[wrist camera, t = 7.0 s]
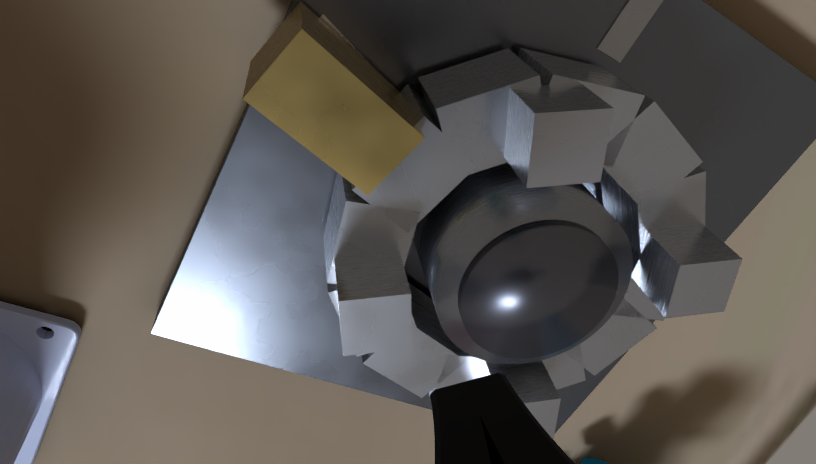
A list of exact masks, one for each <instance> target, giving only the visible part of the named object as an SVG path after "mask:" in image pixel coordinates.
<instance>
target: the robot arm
mask: <svg viewBox="0 0 816 464" xmlns="http://www.w3.org/2000/svg"><path fill="white" fill-rule="evenodd" d="M42 327H48V328H50V329H52V330H53V331H47V330H44V329H43V328H42ZM80 335H81V329H80V326H79V325H78V324H77V323H75V322H74V321H72V320H69V319H66V318H62V317H58V316H54V315H51V314H47V313H43V312H39V311H36V310H32V309H28V308H24V307H20V306H17V305H13V304H9V303H5V302H2V301H0V464H33V462H34V459H35V457H36V454H37V451H38V449H39V446H40V443H41V440H42V438H43V435H44V432H45V430H46V427H47V424H48V422H49V419H50V416H51V414H52V411H53V408H54V405H55V403H56V400H57V397H58V395H59V392H60V389H61V387H62V384H63V381H64V379H65V376H66V373H67V370H68V368H69V365H70V362H71V360H72V357H73V354H74V352H75V349H76V346H77V343H78V341H79V338H80ZM430 400H431V404H432V410H433V419H434V432H435V464H574V463H573V461H572V460H571V459H570V458H569V457H568V456H567V455H566V454H565V453H564V451H563V450H562V449H561V448H560V447H559V446H558V445H557V444H556V442H555V441H554V440H553V439H552V438H551V437H550V435H549V434H548V433H547V432H546V431H545V429H544V428H543V427H542V426H541V424H540V423H539V422H538V421H537V420H536V418H535V417H534V416H533V415H532V413H531V412H530V411H529V409H528V408H527V407H526V405H525V404H524V403H523V401H522V400H521V399H520V397H519V396H518V394H517V393H516V392H515V390H514V389H513V387H512V386H511V384H510V383H509V381H508V379H507V378H506V376H505V375H503V374H501V373H495V374H491V375H487V376H484V377H480V378H476V379H472V380H469V381H465V382H461V383H457V384H454V385H450V386H446V387H443V388H439V389H435V390H434V391H433V392H432V393H431V394H430Z"/></svg>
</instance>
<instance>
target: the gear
mask: <svg viewBox="0 0 816 464" xmlns="http://www.w3.org/2000/svg"><path fill="white" fill-rule="evenodd" d="M581 464H608V463H607V462H605V461H602V460H599V459H595V458H588V457H584V459H583V460H582V462H581Z"/></svg>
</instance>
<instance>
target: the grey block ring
mask: <svg viewBox="0 0 816 464" xmlns="http://www.w3.org/2000/svg"><path fill="white" fill-rule="evenodd" d="M418 80H419V83H420V87H421V91H422V94H423V98H424V99H423V98H422V97H421V96H420V95H419V94H418V93H417V92H416V91H415V90H413V89H412V88H411V87H410V86H409V85H408V84H407V85H406V86H405V87H404V88H403V89H402V90H401V91H398V90H397V89H396V88H395V87H394V86H393V85H392V84H391V83H390V82H389V81H387V80H386V79H385V78H384V77H383V76H382V75H381V74H380V73H379V72H378V71H377V70H375V69H374V68H373V67H372V66H371V65H370V64H369V63H368V62H367V61H366V60H365V59H363V58H362V57H361V56H360V55H359V54H358V53H357V52H356V51H355V50H354V49H352V48H351V47H350V46H349V45H348V44H347V43H346V42H345V41H344V40H343V39H342V38H340V37H339V36H338V35H337V34H336V33H335V32H334V31H333V30H332V29H331V28H329V27H328V26H327V25H326V24H325V23H324V22H323V21H322V20H321V19H320V18H319V17H317V16H316V15H315V14H314V13H313V12H312V11H311V10H310V9H309V8H308V7H307V6H305V5H304V4H303V3H302V2H301V1H300V2H299V4H298V5H297V6H296V7H295V8H294V10H293V11H292V12H291V13H290V14H289V16H288V17H287V18H286V19H285V20H284V22H283V23H282V24H281V25H280V26H279V28H278V29H277V30H276V31H275V32H274V34H273V35H272V36H271V37H270V38H269V40H268V41H267V42H266V43H265V44H264V46H263V47H262V48H261V49H260V50H259V52H258V53H257V54H256V55H255V56H254V58H253V59H252V60H251V62H250V67H249V71H248V76H247V80H246V85H245V89H244V94H243V100H244V101H246V102H247V103H248V104H249V105H251V106H252V107H253V108H255V109H256V110H257V111H259V112H260V113H261V114H262V115H264V116H265V117H266V118H268V119H269V120H270V121H272V122H273V123H274V124H275V125H277V126H278V127H279V128H281V129H282V130H283V131H284V132H286V133H287V134H288V135H290V136H291V137H292V138H294V139H295V140H296V141H297V142H299V143H300V144H301V145H303V146H304V147H305V148H306V149H308V150H309V151H310V152H312V153H313V154H314V155H316V156H317V157H318V158H319V159H321V160H322V161H323V162H325V163H326V164H327V165H329V166H330V167H331V168H332V169H334V170H335V171H336V172H337V174H336V179H335V184H334V188H333V193H332V198H331V202H330V207H329V211H328V216H327V221H326V225H325V230H324V235H323V238H324V251H325V264H326V276H327V287H328V294H329V296H330V298H331V301H332V303H333V305H334V307H335V310H336V312H337V314H338V316H339V320H340V330H341V340H342V350H343V356H349V355H356V356H357V357H358V356H361V355H362V361H363V364H365V365H366V366H368V367H370V368H372V369H373V370H375V371H377V372H378V373H380V374H382V375H383V376H385V377H387V378H389V379H390V380H392V381H394V382H395V383H397V384H399V385H400V386H402V387H404V388H405V389H407V390H409V391H411V392H412V393H414V394H416V395H417V396H419V397H421V398H423V397H424V396H425V395H426V394H427V393H429V397H430V394H431V393H432V392H433V391H434V390H435V389H439V388H443V387H446V386H450V385H454V384H457V383H461V382H465V381H469V380H472V379H476V378H480V377H484V376H487V375H491V374H495V373H501V374H503V375H505V376H506V378H507V379H508V381H509V383H510V384H511V386H512V387H513V389H514V390H515V392H516V393H517V394H518V396H519V397H520V399H521V400H522V401H523V403H524V404H525V405H526V407H527V408H528V409H529V411H530V412H531V413H532V415H533V416H534V417H535V418H536V420H537V421H538V422H539V423H540V424H541V426H542V427H543V428H544V429H545V431H546V432H547V433H548V434H549V435H550V437H551V438H552V439H554V433H555V428H556V423H557V417H558V412H559V406H560V401H561V398H560V396H559V394H558V392H557V389H560V388H564V387H567V386H570V385H573V384H576V383H579V382H582V381H585V380H586V379H585V373H584V368H585V369H586V370H588V371H589V372H590V373H592V374H593V375H594V376H595V375H596V374H598V373H599V372H600V371H601V370H603V369H604V368H605V367H607V366H608V365H609V364H611V363H612V362H613V361H614V360H616V359H617V358H618V357H620V356H621V355H622V354H624V353H625V352H626V351H628V350H629V349H630V348H631V347H633V346H634V345H635V344H637V343H638V342H639V341H641V340H642V339H643V338H644V337H646V336H647V335H648V334H650V333H651V332H652V331H654V330H655V329H656V327H655V325H654V324H653V323H652V321H651V320H650V319H653V320H662V321H664V319H665V318H672V317H681V316H689V315H698V314H706V313H715V312H723V311H724V310H725V307H726V304H727V302H728V299H729V296H730V293H731V290H732V287H733V284H734V282H735V279H736V276H737V273H738V270H739V267H740V264H741V262H742V258H741V257H740V256H738V255H737V254H736V253H735V252H734V251H733V250H732V249H731V248H729V247H728V246H727V245H726V244H725V243H724V242H723V241H721V240H720V239H719V238H718V237H717V236H716V235H715V234H713V233H712V232H711V231H710V230H709V229H708V228H707V227H705V201H706V171H705V170H704V169H702V168H701V167H700V166H699V165H700V164H701V163H702V162H703V161H702V160H701V159H700V158H699V156H698V155H697V154H696V153H695V151H694V150H693V149H692V148H691V146H690V145H689V144H688V143H687V141H686V140H685V139H684V138H683V136H682V135H681V134H680V133H679V131H678V130H677V129H676V127H675V126H674V125H673V124H672V122H671V121H670V120H669V119H668V117H667V116H666V115H665V114H664V112H663V111H662V110H661V109H660V107H659V106H658V105H657V104H656V102H655V101H654V100H652V99H651V98H649V97H647V96H646V95H644V94H643V93H641V92H640V91H638V90H637V89H635V88H634V87H632V86H631V85H629V84H628V83H626V82H625V81H623V80H621V79H620V78H618V77H617V76H615V75H614V74H612V73H611V72H609V71H607V70H606V69H604V68H603V67H600V66H595V65H591V64H587V63H583V62H579V61H574V60H570V59H566V58H562V57H558V56H553V55H549V54H545V53H541V52H537V51H532V50H528V49H524V48H520V49H519V52H518V54H517V55H516V54H514V53H513V52H512V51H511V50H510V49H509V48H507V49H504V50H501V51H498V52H495V53H492V54H488V55H485V56H482V57H479V58H476V59H473V60H470V61H467V62H464V63H461V64H458V65H455V66H451V67H448V68H445V69H442V70H439V71H436V72H433V73H430V74H427V75H424V76H421V77H418ZM507 162H508V163H509V164H510V166H511V167H512V169H513V170H514V171H515V173H516V174H517V175H518V177H519V178H520V180H521V181H522V182H523V184H524V185H525V187H526V188H534V187H546V186H558V185H570V184H582V183H594V182H601V189H602V199H603V207H604V208H605V209H606V210H607V211H608V212H609V213H610V214H611V215H612V217H613V218H614V219H615V220H616V221H617V222H618V223H619V225H620V226H621V227H622V228H623V230H624V232H625V233H626V235H627V237H628V240H629V243H630V245H631V250H632V256H633V269H632V275H631V280H630V283H629V286H628V289H627V292H626V294H625V296H624V298H623V300H622V302H621V303H620V305H619V307H618V308H617V310H616V311H615V312H614V314H613V315H612V316H611V318H610V319H609V320H608V321H607V322H606V323H605V324H604V325H603V326H602V327H601V328H600V329H599V330H598V331H597V332H596V333H594V334H593V335H592V336H591V337H589V338H588V339H586V340H585V341H584V342H582V343H580V344H579V345H577V346H575V347H574V348H572V349H570V350H568V351H566V352H564V353H562V354H559V355H557V356H554V357H551V358H548V359H545V360H541V361H537V362H531V363H525V364H499V363H492V362H488V361H484V360H481V359H478V358H475V357H473V356H471V355H469V354H467V353H465V352H464V351H462V350H461V349H460V348H458V347H457V346H456V345H455V344H454V343H453V342H452V341H451V340H450V339H449V338H448V336H447V335H446V333H445V332H444V330H443V329H442V326H441V324H440V322H439V319H438V316H437V313H436V310H435V307H434V303H433V300H432V299H431V298H430V297H428V296H427V295H425V294H424V293H423V292H421V291H420V290H418V289H417V288H416V287H414V286H413V285H411V284H410V283H409V282H408V280H407V276H406V273H405V269H404V266H405V262H406V259H407V256H408V252H409V249H410V246H411V242H412V239H413V236H414V232H415V229H416V226H417V223H418V222H419V221H421V220H422V219H423V218H424V217H425V216H426V215H427V214H428V213H429V212H430V211H431V210H432V209H433V208H434V207H435V206H436V205H437V204H438V203H439V202H440V201H441V200H442V199H443V198H445V197H446V196H447V195H448V194H449V193H450V192H451V191H452V190H453V189H454V188H455V187H456V186H457V185H458V184H459V183H460V182H461V181H462V180H463V179H464V178H465V177H466V176H467V175H470V174H473V173H476V172H479V171H482V170H485V169H488V168H491V167H494V166H498V165H501V164H504V163H507ZM430 401H431V400H430Z"/></svg>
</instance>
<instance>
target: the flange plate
mask: <svg viewBox="0 0 816 464" xmlns="http://www.w3.org/2000/svg"><path fill="white" fill-rule="evenodd" d="M300 1H301V2H302V3H303V4H304V5H305V6H307V7H308V8H309V9H310V10H311V11H312V12H313V13H314V14H315V15H316V16H317V17H319V18H320V19H321V20H322V21H323V22H324V23H325V24H326V25H327V26H328V27H329V28H331V29H332V30H333V31H334V32H335V33H336V34H337V35H338V36H339V37H340V38H342V39H343V40H344V41H345V42H346V43H347V44H348V45H349V46H350V47H351V48H352V49H354V50H355V51H356V52H357V53H358V54H359V55H360V56H361V57H362V58H363V59H365V60H366V61H367V62H368V63H369V64H370V65H371V66H372V67H373V68H374V69H375V70H377V71H378V72H379V73H380V74H381V75H382V76H383V77H384V78H385V79H386V80H387V81H389V82H390V83H391V84H392V85H393V86H394V87H395V88H396V89H397V90H398V91H401V90H402V89H403V88H404V87H405V86H406V85H407V84H408V85H409V86H410V87H411V88H412V89H413V90H415V91H416V92H417V93H418V94H419V95H420V96H421V97H422V98H423V94H422V91H421V87H420V83H419V80H418V77H421V76H424V75H427V74H430V73H433V72H436V71H439V70H442V69H445V68H448V67H451V66H455V65H458V64H461V63H464V62H467V61H470V60H473V59H476V58H479V57H482V56H485V55H488V54H492V53H495V52H498V51H501V50H504V49H507V48H509V49H510V50H511V51H512V52H513V53H514V54H516V55H517V54H518V52H519V49H520V48H524V49H528V50H532V51H537V52H541V53H545V54H549V55H553V56H558V57H562V58H566V59H570V60H574V61H579V62H583V63H587V64H591V65H595V66H600V67H603V68H604V69H606V70H607V71H609V72H611V73H612V74H614V75H615V76H617V77H618V78H620V79H621V80H623V81H625V82H626V83H628V84H629V85H631V86H632V87H634V88H635V89H637V90H638V91H640V92H641V93H643V94H644V95H646V96H647V97H649V98H651V99H652V100H654V101H655V102H656V104H657V105H658V106H659V107H660V109H661V110H662V111H663V112H664V114H665V115H666V116H667V117H668V119H669V120H670V121H671V122H672V124H673V125H674V126H675V127H676V129H677V130H678V131H679V133H680V134H681V135H682V136H683V138H684V139H685V140H686V141H687V143H688V144H689V145H690V146H691V148H692V149H693V150H694V151H695V153H696V154H697V155H698V156H699V158H700V159H701V160H702V161H703V162H702V163H701V164H700V165H699V166H700V167H701V168H702V169H704V170H705V171H706V201H705V227H707V228H708V229H709V230H710V231H711V232H712V233H713V234H715V235H716V236H717V237H718V238H719V239H720V240H721V241H723V242H725V241H726V239H727V238H728V237H729V236H730V235H731V234H732V233H733V232H734V230H735V229H736V228H737V227H738V226H739V225H740V224H741V223H742V221H743V220H744V219H745V218H746V217H747V216H748V215H749V213H750V212H751V211H752V210H753V209H754V208H755V207H756V206H757V204H758V203H759V202H760V201H761V200H762V199H763V198H764V197H765V195H766V194H767V193H768V192H769V191H770V190H771V189H772V188H773V186H774V185H775V184H776V183H777V182H778V181H779V180H780V178H781V177H782V176H783V175H784V174H785V173H786V172H787V171H788V169H789V168H790V167H791V166H792V165H793V164H794V163H795V162H796V160H797V159H798V158H799V157H800V156H801V155H802V154H803V152H804V151H805V150H806V149H807V148H808V147H809V146H810V145H811V143H812V142H813V141H814V140H815V139H816V82H815V81H814V80H812V79H811V78H809V77H808V76H807V75H805V74H804V73H803V72H801V71H800V70H798V69H797V68H796V67H794V66H793V65H791V64H790V63H789V62H787V61H786V60H784V59H783V58H782V57H780V56H779V55H778V54H776V53H775V52H773V51H772V50H771V49H769V48H768V47H766V46H765V45H764V44H762V43H761V42H760V41H758V40H757V39H755V38H754V37H753V36H751V35H750V34H748V33H747V32H746V31H744V30H743V29H741V28H740V27H739V26H737V25H736V24H735V23H733V22H732V21H730V20H729V19H728V18H726V17H725V16H723V15H722V14H721V13H719V12H718V11H716V10H715V9H714V8H712V7H711V6H710V5H708V4H707V3H705V2H704V1H703V0H292V2H291V5H290V7H289V9H288V12H287V14H286V16H285V19H286V18H287V17H288V16H289V14H290V13H291V12H292V11H293V10H294V8H295V7H296V6H297V5H298V4H299V2H300ZM285 19H284V20H285ZM283 22H284V21H283ZM423 99H424V98H423ZM336 174H337V172H336V171H335V170H334V169H332V168H331V167H330V166H329V165H327V164H326V163H325V162H323V161H322V160H321V159H319V158H318V157H317V156H316V155H314V154H313V153H312V152H310V151H309V150H308V149H306V148H305V147H304V146H303V145H301V144H300V143H299V142H297V141H296V140H295V139H294V138H292V137H291V136H290V135H288V134H287V133H286V132H284V131H283V130H282V129H281V128H279V127H278V126H277V125H275V124H274V123H273V122H272V121H270V120H269V119H268V118H266V117H265V116H264V115H262V114H261V113H260V112H259V111H257V110H256V109H255V108H253V107H252V106H251V105H249V104H247V106H246V109H245V111H244V113H243V116H242V118H241V120H240V123H239V125H238V127H237V130H236V132H235V134H234V137H233V139H232V141H231V143H230V146H229V148H228V150H227V153H226V155H225V157H224V160H223V162H222V164H221V167H220V169H219V171H218V173H217V176H216V178H215V180H214V183H213V185H212V187H211V190H210V192H209V194H208V197H207V199H206V201H205V204H204V206H203V208H202V210H201V213H200V215H199V217H198V220H197V222H196V224H195V227H194V229H193V231H192V234H191V236H190V238H189V241H188V243H187V245H186V247H185V250H184V252H183V254H182V257H181V259H180V261H179V264H178V266H177V268H176V271H175V273H174V275H173V278H172V280H171V282H170V284H169V287H168V289H167V291H166V294H165V296H164V298H163V301H162V303H161V305H160V308H159V310H158V312H157V315H156V318H155V321H154V324H153V328H152V331H151V334H154V335H158V336H162V337H165V338H169V339H173V340H176V341H180V342H184V343H187V344H191V345H195V346H199V347H202V348H206V349H210V350H213V351H217V352H221V353H224V354H228V355H232V356H236V357H239V358H243V359H247V360H250V361H254V362H258V363H261V364H265V365H269V366H272V367H276V368H280V369H284V370H287V371H291V372H295V373H298V374H302V375H306V376H309V377H313V378H317V379H320V380H324V381H328V382H332V383H335V384H339V385H343V386H346V387H350V388H354V389H357V390H361V391H365V392H368V393H372V394H376V395H380V396H383V397H387V398H391V399H394V400H398V401H402V402H405V403H409V404H413V405H416V406H420V407H424V408H428V409H431V410H432V404H431V401H430V397H429V393H427V394H426V395H425V396H424V397H423V398H421V397H419V396H417V395H416V394H414V393H412V392H411V391H409V390H407V389H405V388H404V387H402V386H400V385H399V384H397V383H395V382H394V381H392V380H390V379H389V378H387V377H385V376H383V375H382V374H380V373H378V372H377V371H375V370H373V369H372V368H370V367H368V366H366V365H365V364H363V361H362V355H361V356H358V357H357V356H356V355H349V356H343V350H342V340H341V330H340V320H339V316H338V314H337V312H336V310H335V307H334V305H333V303H332V301H331V298H330V296H329V294H328V287H327V276H326V264H325V251H324V238H323V235H324V230H325V225H326V221H327V216H328V211H329V207H330V202H331V198H332V193H333V188H334V184H335V179H336ZM583 185H584V186H585V187H586V188H587V189H588V190H589V191H590V192H591V193H592V195H593V196H594V197H595V198H596V199H597V200H598V201H599V202H600V203H601V204H602V206H603V199H602V189H601V182H594V183H583ZM404 269H405V273H406V276H407V280H408V282H409V283H410V284H411V285H413V286H414V287H416V288H417V289H418V290H420V291H421V292H423V293H424V294H425V295H427V296H428V297H430V298H431V299H432V297H431V294H430V291H429V288H428V285H427V281H426V278H425V275H424V272H423V269H422V266H421V263H420V259H419V256H418V253H417V250H416V247H415V243H414V239H412V242H411V246H410V249H409V252H408V256H407V259H406V262H405V266H404ZM650 320H651V321H652V323H653V322H654V321H655V320H653V319H650ZM626 352H627V351H626ZM626 352H625V353H624V354H622V355H621V356H620V357H618V358H617V359H616V360H614V361H613V362H612V363H611V364H609V365H608V366H607V367H605V368H604V369H603V370H601V371H600V372H599V373H598V374H596V375H595V376H594V375H593V374H592V373H590V372H589V371H588V370H586V369H585V368H584V373H585V379H586V380H585V381H582V382H579V383H576V384H573V385H570V386H567V387H564V388H560V389H557V392H558V394H559V396H560V398H561V401H560V406H559V412H558V417H557V423H556V428H555V433H556V432H557V430H558V429H559V428H560V427H561V426H562V425H563V424H564V422H565V421H566V420H567V419H568V418H569V417H570V416H571V415H572V413H573V412H574V411H575V410H576V409H577V408H578V407H579V406H580V404H581V403H582V402H583V401H584V400H585V399H586V398H587V396H588V395H589V394H590V393H591V392H592V391H593V390H594V389H595V387H596V386H597V385H598V384H599V383H600V382H601V381H602V380H603V378H604V377H605V376H606V375H607V374H608V373H609V372H610V371H611V369H612V368H613V367H614V366H615V365H616V364H617V363H618V361H619V360H620V359H621V358H622V357H623V356H624V355H625V354H626ZM555 433H554V434H555Z"/></svg>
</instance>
